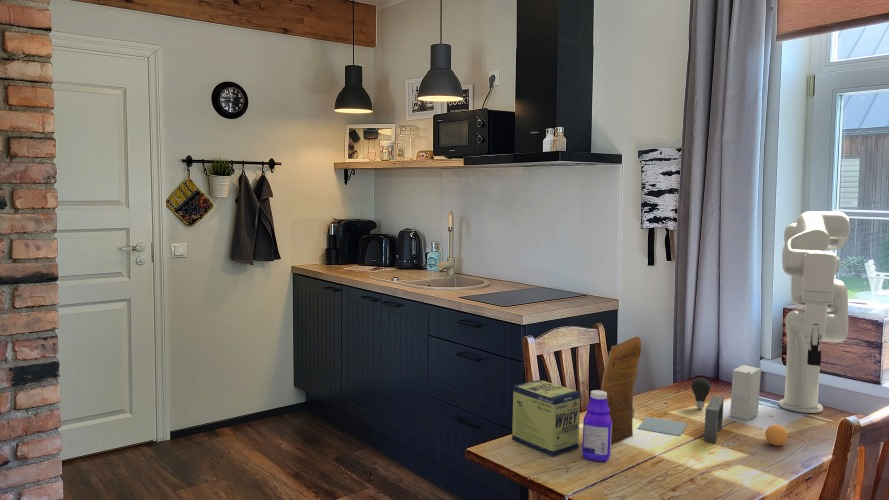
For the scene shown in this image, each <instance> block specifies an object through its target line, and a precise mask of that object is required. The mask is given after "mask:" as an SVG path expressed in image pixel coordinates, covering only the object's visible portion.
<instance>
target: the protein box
mask: <svg viewBox="0 0 889 500" xmlns="http://www.w3.org/2000/svg"><path fill="white" fill-rule="evenodd" d="M512 389H513V390H512V391H513V393H512V396H513V397H512V425H511V426H512V433H511V440H512V441H514V442H517V443H518V444H520V445H521V444H522V445H523V446H526V447H528V448H530V449H533V450H535V451H538V452H540V453H542V454H545V455H548V456H550V457H556V456H558V455H561V454H565V453H567V452H570V451H574V450H576V449H577V450H578V449H579V443H580V442H579V440H580V439H579V437H580V410H581V391H578V390H576V389H572V388H568V387H565V386H562V385H558V384H554V383H552V382H549V381H546V380H543V379H537V380H533V381H530V382H524V383H519V384H515V385H513V388H512Z"/></svg>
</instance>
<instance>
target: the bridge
mask: <svg viewBox="0 0 889 500" xmlns="http://www.w3.org/2000/svg"><path fill="white" fill-rule="evenodd" d="M724 399H725V398H724V396H718V395H712V396H711V398H710V400H709V402H708V404H707V406H706V407H705V410H704V411H705V412H704V414H705V415H704V438H703V442H704V443H710V444H717V442H718V438H717V437H718V430H719V431H722V430H723V422H724V421H723V420H724V402H725V401H724Z"/></svg>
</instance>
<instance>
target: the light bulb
mask: <svg viewBox="0 0 889 500" xmlns="http://www.w3.org/2000/svg"><path fill="white" fill-rule="evenodd" d="M691 390H692V393H693V395H694V397H695V399H694V400H695V401H696V402H695V407H696V408H698V410H702V409H704V407H705V402H706V399H707V396H708V395H709V394H710V392H711V383H710V382H709V381H708V380H707V379H706V378H704V377H697V378H695V379H694V380H693V381H692V383H691Z"/></svg>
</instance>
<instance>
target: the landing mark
mask: <svg viewBox="0 0 889 500" xmlns="http://www.w3.org/2000/svg"><path fill="white" fill-rule="evenodd" d="M687 426H688V422H682V421H677V420H670V419H665V418H658V417H651V416H646V417H644V419H643V420H642V421H641V423H640V424H639V426H638V427H637V428H636V429H637V430H641V431H649V432H654V433H659V434H667V435H673V436H678V437H681V436H682V434H683V433H684V431H685V429H686V427H687Z"/></svg>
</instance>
